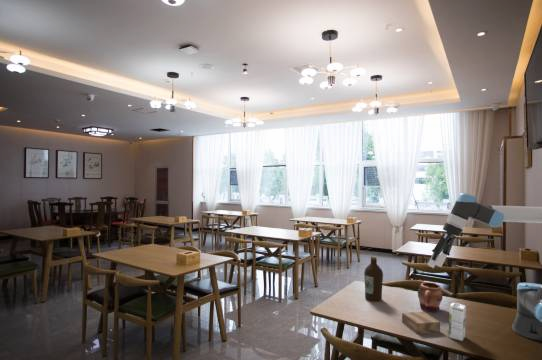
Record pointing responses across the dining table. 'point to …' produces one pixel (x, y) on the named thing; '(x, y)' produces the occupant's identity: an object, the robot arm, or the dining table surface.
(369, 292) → the olive oil
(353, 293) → the dining table surface
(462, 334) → the syrup box
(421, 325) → the walnut block
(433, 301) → the decorative planter
